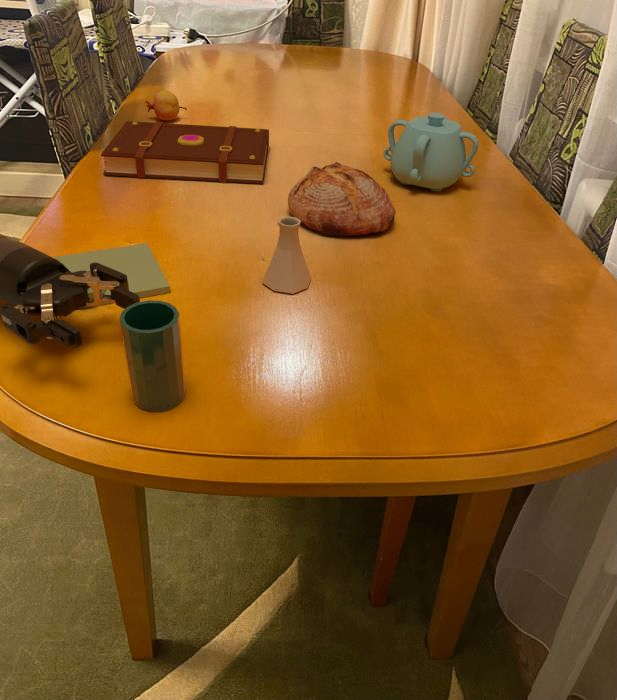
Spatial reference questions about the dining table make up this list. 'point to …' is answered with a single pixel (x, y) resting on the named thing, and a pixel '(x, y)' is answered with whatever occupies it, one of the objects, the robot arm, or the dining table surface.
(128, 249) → the scale
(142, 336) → the cup
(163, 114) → the fruit
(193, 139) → the book
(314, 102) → the dining table surface
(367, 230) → the bread
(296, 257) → the flask
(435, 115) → the decorative pot
